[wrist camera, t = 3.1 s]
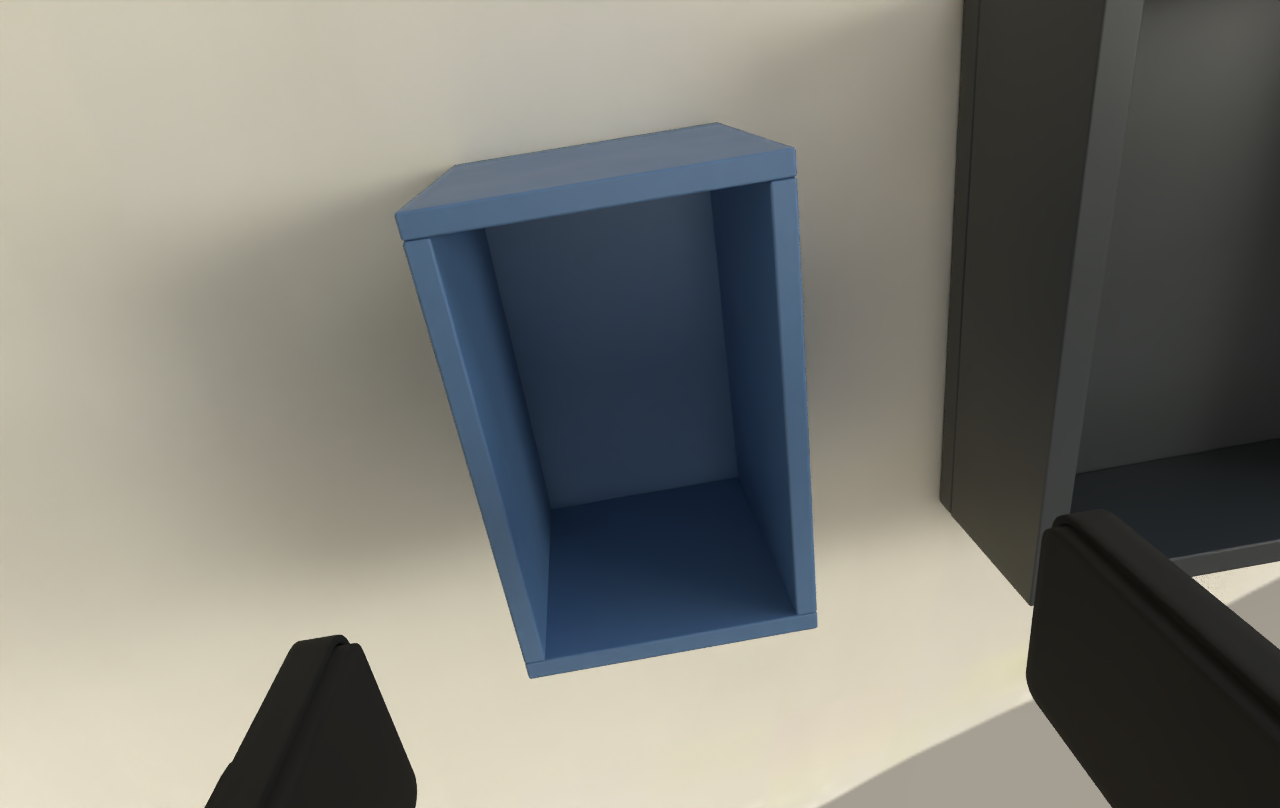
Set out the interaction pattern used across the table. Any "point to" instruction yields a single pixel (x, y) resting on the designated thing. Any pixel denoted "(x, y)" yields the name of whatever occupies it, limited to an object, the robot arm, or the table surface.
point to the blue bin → (628, 387)
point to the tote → (1117, 278)
